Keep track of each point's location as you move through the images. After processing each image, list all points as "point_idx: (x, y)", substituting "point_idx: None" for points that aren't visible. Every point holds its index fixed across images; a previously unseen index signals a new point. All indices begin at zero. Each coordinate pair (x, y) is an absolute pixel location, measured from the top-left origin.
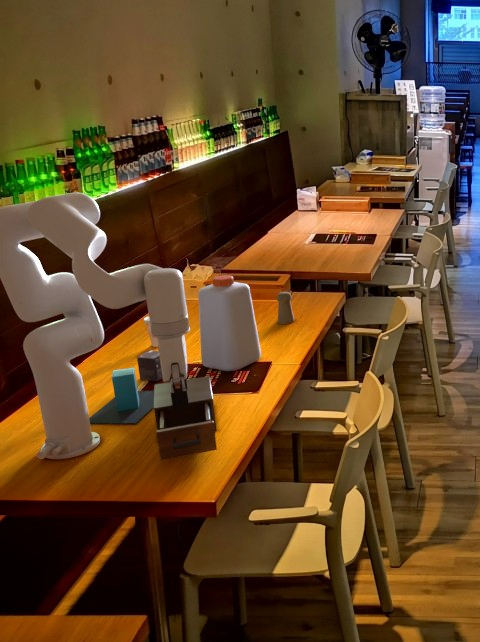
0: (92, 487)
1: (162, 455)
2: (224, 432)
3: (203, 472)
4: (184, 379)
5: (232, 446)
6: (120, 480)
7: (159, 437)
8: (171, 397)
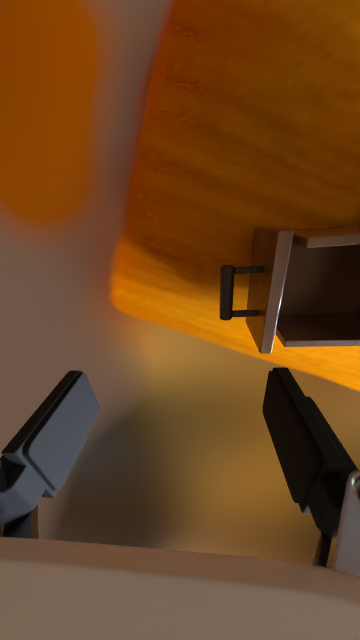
0: (211, 54)
1: (256, 233)
2: None
3: (188, 299)
4: (284, 466)
5: None
6: (218, 138)
7: (271, 236)
8: (28, 421)
